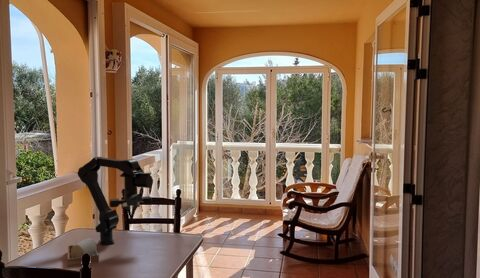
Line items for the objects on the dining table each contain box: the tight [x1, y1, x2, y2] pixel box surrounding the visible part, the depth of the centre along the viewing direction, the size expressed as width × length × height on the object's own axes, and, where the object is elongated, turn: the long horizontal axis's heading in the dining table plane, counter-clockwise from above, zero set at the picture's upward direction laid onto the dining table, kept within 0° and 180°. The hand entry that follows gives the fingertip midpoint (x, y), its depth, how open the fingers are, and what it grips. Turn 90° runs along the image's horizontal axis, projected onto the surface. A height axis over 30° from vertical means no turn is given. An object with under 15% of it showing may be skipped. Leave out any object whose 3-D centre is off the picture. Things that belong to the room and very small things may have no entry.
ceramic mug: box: [70, 237, 99, 258], centre depth 164 cm, size 11×8×8 cm
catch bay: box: [67, 244, 100, 267], centre depth 166 cm, size 17×12×3 cm
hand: (131, 219), depth 179 cm, fingers closed
